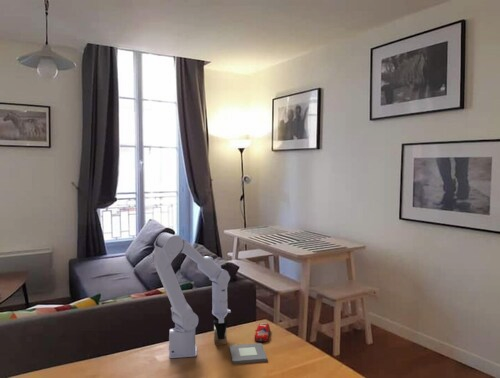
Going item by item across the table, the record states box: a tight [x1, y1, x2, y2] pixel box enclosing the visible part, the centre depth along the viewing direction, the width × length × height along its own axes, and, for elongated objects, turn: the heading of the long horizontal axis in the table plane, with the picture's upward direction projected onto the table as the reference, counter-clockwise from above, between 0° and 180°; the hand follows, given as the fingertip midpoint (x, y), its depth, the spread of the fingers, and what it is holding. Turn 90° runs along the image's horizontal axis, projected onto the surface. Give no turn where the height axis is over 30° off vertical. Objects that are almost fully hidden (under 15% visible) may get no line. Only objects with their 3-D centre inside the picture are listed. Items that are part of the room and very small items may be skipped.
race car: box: [254, 322, 271, 343], centre depth 154 cm, size 13×5×4 cm, turn 170°
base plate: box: [229, 342, 268, 365], centre depth 138 cm, size 12×12×1 cm
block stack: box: [213, 324, 228, 346], centre depth 149 cm, size 4×4×6 cm
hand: (220, 334), depth 149 cm, fingers open, 7 cm apart
